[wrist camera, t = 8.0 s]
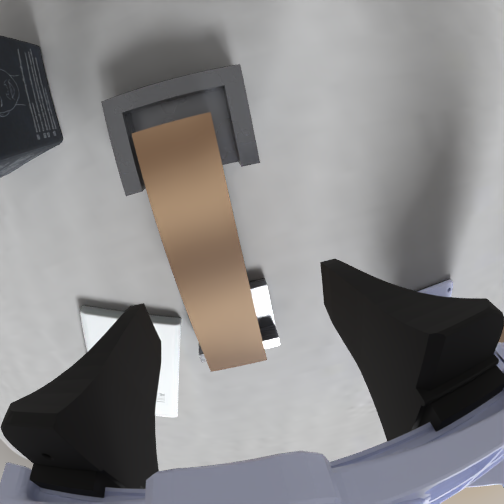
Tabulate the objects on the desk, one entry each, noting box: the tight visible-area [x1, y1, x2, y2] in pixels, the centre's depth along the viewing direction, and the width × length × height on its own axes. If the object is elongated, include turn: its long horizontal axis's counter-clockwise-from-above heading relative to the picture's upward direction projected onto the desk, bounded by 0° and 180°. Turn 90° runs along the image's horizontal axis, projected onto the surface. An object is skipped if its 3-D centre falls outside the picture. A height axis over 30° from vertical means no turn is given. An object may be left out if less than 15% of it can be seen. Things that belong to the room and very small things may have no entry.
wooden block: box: [132, 112, 267, 372], centre depth 17 cm, size 14×4×5 cm, turn 11°
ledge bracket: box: [199, 278, 280, 362], centre depth 22 cm, size 4×6×2 cm
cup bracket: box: [102, 64, 260, 196], centre depth 16 cm, size 6×8×3 cm
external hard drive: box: [80, 306, 181, 417], centre depth 24 cm, size 2×8×12 cm
